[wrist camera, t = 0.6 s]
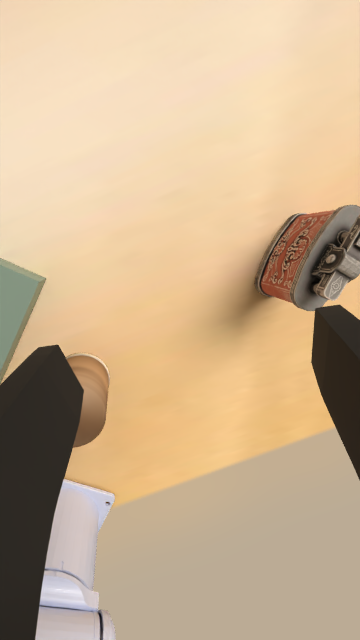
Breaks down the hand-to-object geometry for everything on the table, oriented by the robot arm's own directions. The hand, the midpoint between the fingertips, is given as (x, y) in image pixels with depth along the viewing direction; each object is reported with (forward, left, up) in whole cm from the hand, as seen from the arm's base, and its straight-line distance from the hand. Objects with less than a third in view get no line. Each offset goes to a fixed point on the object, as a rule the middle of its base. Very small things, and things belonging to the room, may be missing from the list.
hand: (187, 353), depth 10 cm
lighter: (+8, -11, -21) cm, 25 cm away
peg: (-9, +1, -21) cm, 23 cm away
